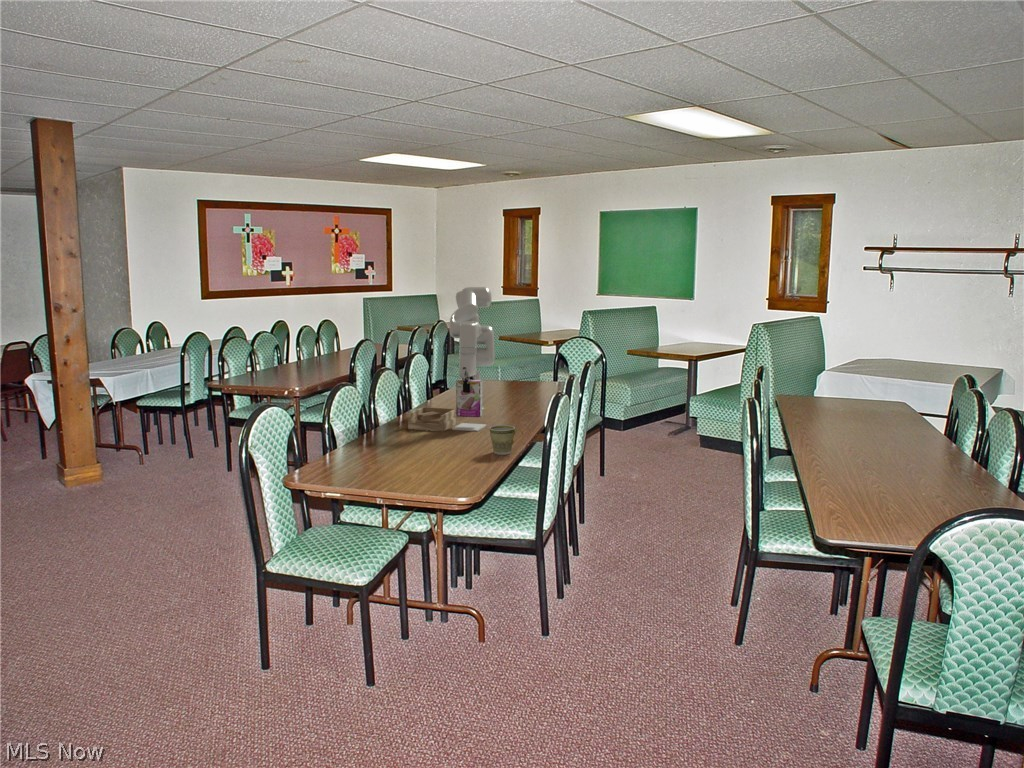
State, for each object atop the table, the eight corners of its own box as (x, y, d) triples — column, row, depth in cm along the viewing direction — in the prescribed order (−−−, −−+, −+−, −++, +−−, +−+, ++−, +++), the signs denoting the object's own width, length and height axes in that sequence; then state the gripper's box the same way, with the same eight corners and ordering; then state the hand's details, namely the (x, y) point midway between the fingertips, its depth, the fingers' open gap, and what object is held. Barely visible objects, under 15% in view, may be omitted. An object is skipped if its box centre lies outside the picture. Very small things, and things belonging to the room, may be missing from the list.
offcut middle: (418, 423, 341) (418, 417, 341) (442, 423, 340) (441, 418, 340) (415, 425, 336) (415, 420, 335) (439, 426, 335) (439, 420, 334)
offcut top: (417, 419, 336) (417, 414, 336) (433, 416, 342) (433, 411, 342) (424, 421, 333) (424, 415, 332) (440, 418, 339) (440, 412, 338)
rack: (423, 421, 352) (423, 407, 351) (457, 423, 347) (456, 408, 346) (408, 429, 336) (407, 413, 335) (442, 431, 331) (442, 415, 330)
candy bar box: (456, 417, 336) (455, 380, 334) (458, 414, 341) (458, 379, 338) (480, 417, 334) (480, 381, 332) (482, 415, 339) (482, 379, 337)
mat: (461, 424, 346) (461, 422, 346) (486, 425, 342) (486, 424, 342) (452, 429, 335) (452, 428, 334) (477, 431, 331) (477, 430, 331)
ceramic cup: (487, 455, 289) (487, 430, 287) (491, 449, 299) (491, 424, 297) (521, 456, 287) (521, 431, 285) (524, 450, 297) (524, 425, 295)
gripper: (467, 348, 342) (467, 388, 345) (453, 352, 326) (454, 394, 329) (482, 349, 340) (483, 388, 343) (469, 353, 324) (470, 394, 327)
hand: (468, 391), depth 336 cm, fingers closed on candy bar box, 5 cm apart
